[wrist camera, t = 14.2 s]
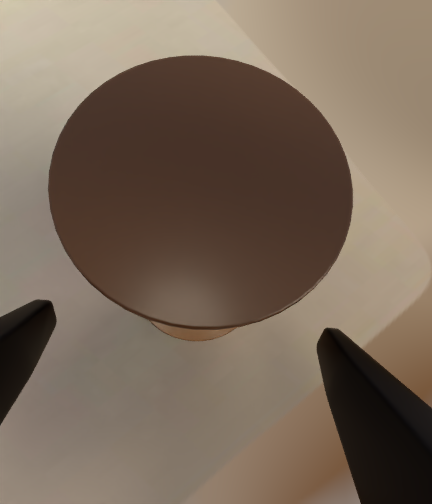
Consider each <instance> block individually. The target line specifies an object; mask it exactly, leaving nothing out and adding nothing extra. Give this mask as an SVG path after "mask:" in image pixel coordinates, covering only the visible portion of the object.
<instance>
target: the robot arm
mask: <svg viewBox="0 0 432 504" xmlns="http://www.w3.org/2000/svg"><path fill="white" fill-rule="evenodd" d="M56 322H57V319H56V315H55V311H54V307H53V304H52V302H51V301H49V300H39V299H38V300H34V301H32V302H30V303H28V304H26V305H24V306H22V307H20V308H18V309H16V310H14V311H12V312H10V313H8V314H6V315H4V316H2V317H0V425H1V423H2V422H3V420H4V418H5V417H6V415H7V414H8V412H9V410H10V409H11V407H12V405H13V404H14V402H15V401H16V399H17V397H18V396H19V394H20V393H21V391H22V389H23V388H24V386H25V384H26V383H27V381H28V380H29V378H30V376H31V374H32V373H33V371H34V369H35V367H36V365H37V363H38V361H39V359H40V357H41V355H42V353H43V351H44V349H45V347H46V345H47V343H48V341H49V339H50V337H51V334H52V332H53V330H54V328H55V326H56ZM317 354H318V359H319V364H320V368H321V373H322V378H323V382H324V387H325V391H326V395H327V399H328V402H329V406H330V409H331V412H332V415H333V418H334V421H335V424H336V427H337V431H338V434H339V437H340V440H341V443H342V446H343V449H344V452H345V455H346V459H347V462H348V465H349V468H350V471H351V474H352V477H353V480H354V483H355V487H356V490H357V493H358V496H359V499H360V502H361V504H432V408H431V407H430V406H428V405H427V404H426V403H425V402H424V401H423V400H421V399H420V398H419V397H418V396H417V395H415V394H414V393H413V392H412V391H411V390H410V389H408V388H407V387H406V386H405V385H404V384H402V383H401V382H400V381H399V380H398V379H396V378H395V377H394V376H393V375H392V374H391V373H390V372H388V371H387V370H386V369H385V368H384V367H383V366H381V365H380V364H379V363H378V362H377V361H376V360H374V359H373V358H372V357H371V356H370V355H369V354H367V353H366V352H365V351H364V350H363V349H361V348H360V347H359V346H358V345H357V344H356V343H354V342H353V341H352V340H351V339H350V338H349V337H347V336H346V335H345V334H344V333H343V332H341V331H340V330H339V329H336V328H325V329H324V331H323V333H322V335H321V337H320V339H319V341H318V343H317Z"/></svg>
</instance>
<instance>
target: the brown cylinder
mask: <svg viewBox="0 0 432 504" xmlns="http://www.w3.org/2000/svg"><path fill="white" fill-rule="evenodd" d="M48 192H49V202H50V210H51V214H52V218H53V222H54V225H55V229H56V232H57V234H58V236H59V238H60V241H61V243H62V245H63V247H64V249H65V251H66V253H67V254H68V256H69V257H70V259H71V260H72V262H73V264H74V265H75V267H76V268H77V269H78V270H79V271H80V272H81V274H82V275H83V276H84V277H85V278H86V279H87V280H88V282H89V283H90V284H91V285H93V286H94V287H95V288H96V289H97V290H98V291H100V292H101V293H102V294H103V295H104V296H105V297H107V298H108V299H110V300H111V301H113V302H114V303H116V304H118V305H119V306H121V307H122V308H124V309H125V310H127V311H129V312H132V313H134V314H136V315H138V316H141V317H143V318H145V319H147V320H150V321H154V322H157V323H161V324H164V325H167V326H171V327H178V328H185V329H192V330H220V329H228V328H236V327H241V326H245V325H249V324H252V323H256V322H260V321H262V320H265V319H267V318H269V317H272V316H274V315H276V314H279V313H281V312H282V311H284V310H286V309H287V308H289V307H290V306H292V305H294V304H295V303H297V302H299V301H300V300H301V299H302V298H303V297H305V296H306V295H307V294H308V293H309V292H311V291H312V290H313V289H314V288H315V287H316V286H317V285H318V283H319V282H320V281H321V280H322V279H323V278H324V277H325V276H326V275H327V273H328V272H329V270H330V269H331V267H332V265H333V264H334V262H335V261H336V259H337V258H338V255H339V253H340V251H341V249H342V247H343V245H344V242H345V240H346V236H347V233H348V230H349V226H350V222H351V215H352V208H353V188H352V181H351V174H350V169H349V166H348V162H347V159H346V156H345V153H344V151H343V148H342V146H341V144H340V141H339V139H338V138H337V136H336V134H335V133H334V131H333V129H332V127H331V126H330V125H329V123H328V122H327V120H326V119H325V118H324V116H323V115H322V114H321V112H320V111H319V110H318V109H317V108H316V107H315V106H314V105H313V104H312V103H311V102H310V101H309V100H308V99H307V98H306V97H305V96H303V95H302V94H301V93H300V92H299V91H298V90H296V89H295V88H293V87H292V86H291V85H289V84H288V83H286V82H285V81H283V80H281V79H280V78H278V77H276V76H274V75H272V74H271V73H269V72H266V71H264V70H262V69H259V68H257V67H255V66H252V65H249V64H246V63H242V62H239V61H235V60H230V59H226V58H221V57H211V56H177V57H168V58H163V59H159V60H154V61H150V62H147V63H144V64H141V65H138V66H135V67H133V68H131V69H128V70H126V71H124V72H122V73H120V74H118V75H116V76H115V77H113V78H111V79H110V80H108V81H106V82H105V83H103V84H102V85H101V86H100V87H98V88H97V89H96V90H94V91H93V92H92V93H91V94H90V95H89V96H88V97H87V98H86V99H85V100H84V101H83V102H82V103H81V104H80V105H79V106H78V107H77V109H76V110H75V111H74V113H73V114H72V115H71V117H70V118H69V119H68V121H67V123H66V125H65V126H64V128H63V130H62V132H61V134H60V136H59V138H58V141H57V143H56V146H55V149H54V152H53V155H52V160H51V165H50V170H49V185H48Z"/></svg>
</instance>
